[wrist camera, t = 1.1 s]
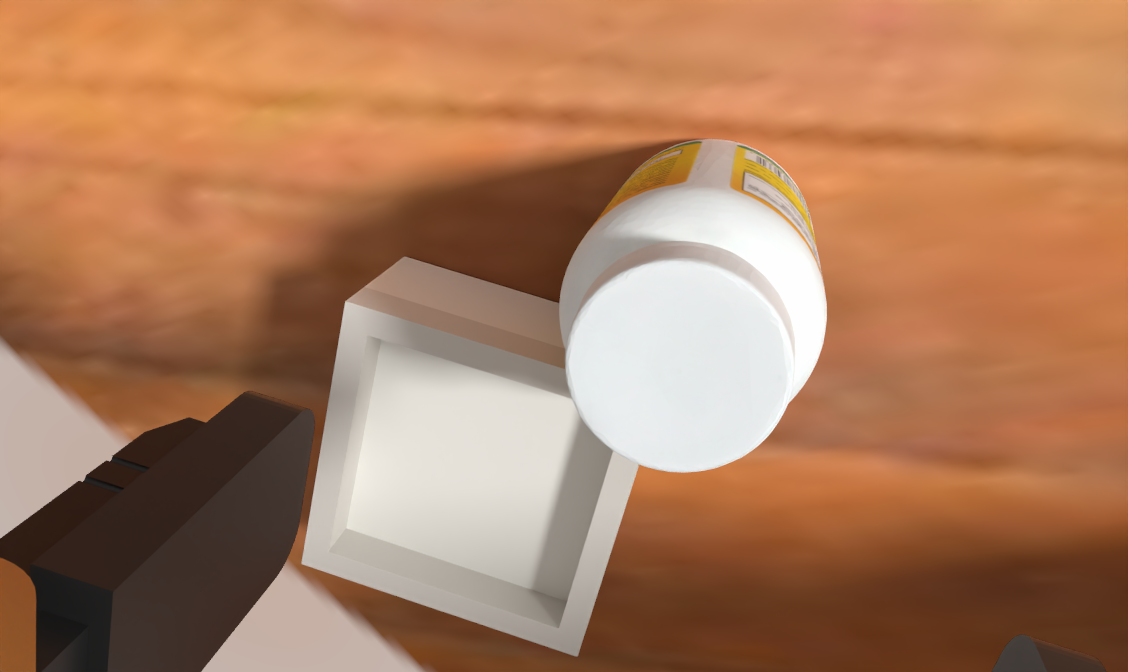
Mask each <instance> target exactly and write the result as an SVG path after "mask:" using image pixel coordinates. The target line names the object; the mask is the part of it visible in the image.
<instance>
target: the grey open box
mask: <svg viewBox="0 0 1128 672" xmlns="http://www.w3.org/2000/svg"><path fill="white" fill-rule="evenodd" d="M559 304H560V303H557V302H553V301H550V300H547V299H544V298H540V297H537V296H534V295H530V294H527V293H524V292H520V291H517V290H514V289H511V288H507V287H504V286H501V285H497V284H494V283H491V282H488V281H484V280H481V279H478V278H474V277H471V276H468V275H464V274H461V273H458V272H455V271H451V270H448V269H445V268H441V267H438V266H435V265H431V264H428V263H425V262H422V261H418V260H415V259H412V258H408V257H405V256H404V257H403V258H402V259H400V260H399V261H398V262H396V263H395V264H394V265H392V266H391V267H390V268H388V269H387V270H386V271H384V272H383V273H382V274H380V275H379V276H378V277H377V278H375V279H374V280H373V281H371V282H370V283H369V284H367V285H366V286H365V287H363V288H362V289H361V290H359V291H358V292H357V293H355V294H354V295H353V296H351V297H350V298H349V299H348V300H346V301H345V306H344V312H343V318H342V324H341V330H340V336H339V342H338V348H337V354H336V360H335V366H334V372H333V378H332V384H331V390H330V396H329V402H328V408H327V414H326V420H325V426H324V432H323V438H322V444H321V450H320V456H319V462H318V468H317V474H316V480H315V486H314V492H313V498H312V504H311V510H310V516H309V521H308V527H307V533H306V539H305V545H304V551H303V557H302V563H301V564H303V565H306V566H309V567H312V568H315V569H318V570H321V571H324V572H326V573H329V574H332V575H335V576H338V577H341V578H344V579H347V580H350V581H353V582H356V583H359V584H362V585H365V586H368V587H371V588H374V589H377V590H380V591H383V592H386V593H389V594H392V595H395V596H398V597H401V598H404V599H407V600H410V601H413V602H416V603H419V604H421V605H424V606H427V607H430V608H433V609H436V610H439V611H442V612H445V613H448V614H451V615H454V616H457V617H460V618H463V619H466V620H469V621H472V622H475V623H478V624H481V625H484V626H487V627H490V628H493V629H496V630H499V631H502V632H505V633H508V634H511V635H514V636H517V637H519V638H522V639H525V640H528V641H531V642H534V643H537V644H540V645H543V646H546V647H549V648H552V649H555V650H558V651H561V652H564V653H567V654H570V655H573V656H576V657H578V654H579V651H580V647H581V644H582V641H583V638H584V635H585V632H586V629H587V626H588V622H589V619H590V616H591V613H592V610H593V607H594V604H595V601H596V597H597V594H598V591H599V588H600V585H601V582H602V579H603V576H604V573H605V569H606V566H607V563H608V560H609V557H610V554H611V551H612V548H613V544H614V541H615V538H616V535H617V532H618V529H619V526H620V523H621V519H622V516H623V513H624V510H625V507H626V504H627V501H628V498H629V494H630V491H631V488H632V485H633V482H634V479H635V476H636V473H637V470H638V466H639V464H637V463H635V462H632V461H630V460H628V459H626V458H624V457H622V456H621V455H619V454H617V453H616V452H614V451H613V450H611V449H610V448H609V447H608V446H606V445H605V444H604V443H603V442H602V441H600V440H599V439H598V438H597V437H596V436H595V435H594V434H593V433H592V432H591V430H590V429H589V428H588V426H587V425H586V424H585V422H584V421H583V420H582V418H581V417H580V415H579V413H578V411H577V409H576V407H575V405H574V402H573V400H572V397H571V394H570V391H569V388H568V385H567V382H566V371H565V347H564V344H563V340H562V335H561V328H560V318H559Z"/></svg>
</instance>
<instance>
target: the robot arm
mask: <svg viewBox="0 0 1128 672" xmlns="http://www.w3.org/2000/svg"><path fill="white" fill-rule="evenodd" d="M314 426H315V420H314V414H313V412H312V410H310V409H307V408H304V407H301V406H297V405H294V404H291V403H288V402H285V401H281V400H278V399H275V398H272V397H269V396H265V395H262V394H259V393H256V392H253V391H247V392H244V393H243V394H241V395H240V396H239V397H238V398H236V399H235V400H234V401H233V402H231V403H230V404H229V405H228V406H226V407H225V408H224V409H223V410H221V411H220V412H219V413H218V414H216V415H215V416H214V417H213V418H211V419H210V420H209V421H208V422H206V423H205V422H202V421H199V420H196V419H192V418H186V419H183V420H180V421H177V422H174V423H171V424H168V425H165V426H162V427H159V428H156V429H153V430H150V431H147V432H144V433H143V434H142V435H140V436H139V437H137V438H136V439H135V440H133V441H132V442H131V443H129V444H128V445H127V446H125V447H124V448H123V449H121V450H120V451H119V452H117V453H116V454H115V455H113V457H112V460H111V461H110V462H109V461H105V462H104V463H102V464H101V465H100V466H98V467H97V468H96V469H94V470H93V471H91V472H90V473H89V474H87V475H86V478H85V480H84V481H83V482H81V481H78V482H76V483H75V484H74V485H73V486H71V487H70V488H68V489H67V490H66V491H64V492H63V493H62V494H60V495H59V496H58V497H56V498H55V499H53V500H52V501H51V502H49V503H48V504H47V505H45V506H44V507H43V508H41V509H40V510H39V511H37V512H36V513H35V514H33V515H32V516H30V517H29V518H28V519H26V520H25V521H24V522H22V523H21V524H19V525H18V526H17V527H15V528H14V529H13V530H11V531H10V532H9V533H7V534H6V535H5V536H3V537H2V538H0V672H201V671H202V670H203V668H204V667H205V666H206V665H207V663H208V662H209V661H210V660H211V658H212V657H213V656H214V655H215V653H216V652H217V651H218V650H219V648H220V647H221V646H222V645H223V643H224V642H225V641H226V639H227V638H228V637H229V636H230V635H231V633H232V632H233V631H234V630H235V628H236V627H237V626H238V625H239V623H240V622H241V621H242V620H243V618H244V617H245V616H246V615H247V613H248V612H249V611H250V610H251V608H252V607H253V605H255V603H256V602H257V601H258V599H259V598H260V597H261V596H262V594H263V593H264V592H265V591H266V590H267V588H268V587H269V586H270V584H271V583H272V582H273V581H274V579H275V578H276V577H277V575H278V574H279V572H280V571H281V569H282V568H283V566H284V564H285V562H286V560H287V558H288V556H289V553H290V551H291V549H292V546H293V543H294V541H295V537H296V534H297V531H298V527H299V522H300V516H301V509H302V503H303V497H304V491H305V484H306V478H307V472H308V466H309V459H310V453H311V447H312V441H313V434H314ZM992 672H1106V670H1105V668H1104V666H1103V665H1102V663H1101V662H1100V661H1099V660H1098V659H1097V658H1095V657H1093V656H1091V655H1087V654H1084V653H1081V652H1078V651H1075V650H1071V649H1068V648H1065V647H1062V646H1059V645H1055V644H1052V643H1049V642H1046V641H1043V640H1039V639H1036V638H1033V637H1030V636H1027V635H1018V636H1016V637H1014V638H1013V639H1012V640H1011V641H1009V643H1008V644H1007V645H1006V647H1005V648H1004V650H1003V651H1002V653H1001V655H1000V657H999V659H998V661H997V663H996V664H995V666H994V668H993V670H992Z"/></svg>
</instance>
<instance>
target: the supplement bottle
mask: <svg viewBox="0 0 1128 672" xmlns="http://www.w3.org/2000/svg"><path fill="white" fill-rule="evenodd" d="M559 318H560V328H561V335H562V340H563V344H564V347H565V371H566V382H567V385H568V388H569V391H570V394H571V397H572V400H573V402H574V405H575V407H576V409H577V411H578V413H579V415H580V417H581V418H582V420H583V421H584V422H585V424H586V425H587V426H588V428H589V429H590V430H591V432H592V433H593V434H594V435H595V436H596V437H597V438H598V439H599V440H600V441H602V442H603V443H604V444H605V445H606V446H608V447H609V448H610V449H611V450H613V451H614V452H616V453H617V454H619V455H621V456H622V457H624V458H626V459H628V460H630V461H632V462H635V463H637V464H640V465H642V466H645V467H649V468H653V469H657V470H662V471H668V472H698V471H704V470H709V469H714V468H717V467H720V466H723V465H725V464H728V463H730V462H733V461H735V460H737V459H739V458H741V457H743V456H744V455H746V454H748V453H749V452H750V451H752V450H753V449H754V448H756V447H757V446H758V445H759V444H760V443H761V442H763V441H764V440H765V439H766V438H767V437H768V436H769V434H770V433H771V432H772V431H773V429H774V428H775V427H776V425H777V424H778V422H779V420H780V419H781V417H782V415H783V413H784V412H785V409H786V407H787V405H788V403H789V402H790V401H791V400H792V399H793V398H794V397H795V396H796V394H797V393H798V392H799V391H800V389H801V388H802V387H803V386H804V384H805V383H806V381H807V380H808V378H809V376H810V374H811V373H812V371H813V369H814V367H815V365H816V362H817V360H818V357H819V355H820V352H821V349H822V346H823V341H824V336H825V329H826V321H827V304H826V296H825V289H824V281H823V277H822V273H821V268H820V262H819V257H818V253H817V248H816V243H815V236H814V231H813V226H812V222H811V218H810V214H809V210H808V208H807V205H806V202H805V200H804V198H803V196H802V194H801V192H800V190H799V188H798V187H797V185H796V183H795V182H794V181H793V179H792V178H791V177H790V176H789V175H788V173H787V172H786V171H785V170H784V169H783V168H782V167H781V166H780V165H779V164H778V163H776V162H775V161H774V160H772V159H771V158H770V157H768V156H767V155H765V154H764V153H762V152H760V151H758V150H756V149H754V148H752V147H750V146H747V145H745V144H741V143H738V142H734V141H729V140H721V139H702V140H693V141H687V142H684V143H680V144H677V145H674V146H672V147H670V148H667V149H665V150H663V151H661V152H659V153H658V154H656V155H655V156H653V157H651V158H650V159H649V160H647V161H646V162H644V163H643V164H642V165H641V166H640V167H639V168H637V169H636V170H635V171H634V172H633V173H632V175H631V176H630V177H629V178H628V179H627V180H626V182H625V183H624V184H623V186H622V187H621V188H620V189H619V191H618V192H617V193H616V195H615V196H614V198H613V199H612V200H611V202H610V203H609V204H608V206H607V207H606V208H605V210H604V211H603V212H602V214H601V215H600V216H599V218H598V219H597V220H596V221H595V223H594V224H593V226H592V227H591V228H590V230H589V231H588V232H587V233H586V235H585V236H584V238H583V239H582V241H581V242H580V244H579V245H578V247H577V249H576V250H575V252H574V254H573V256H572V258H571V260H570V263H569V265H568V267H567V270H566V273H565V276H564V279H563V283H562V288H561V293H560V304H559Z"/></svg>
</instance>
